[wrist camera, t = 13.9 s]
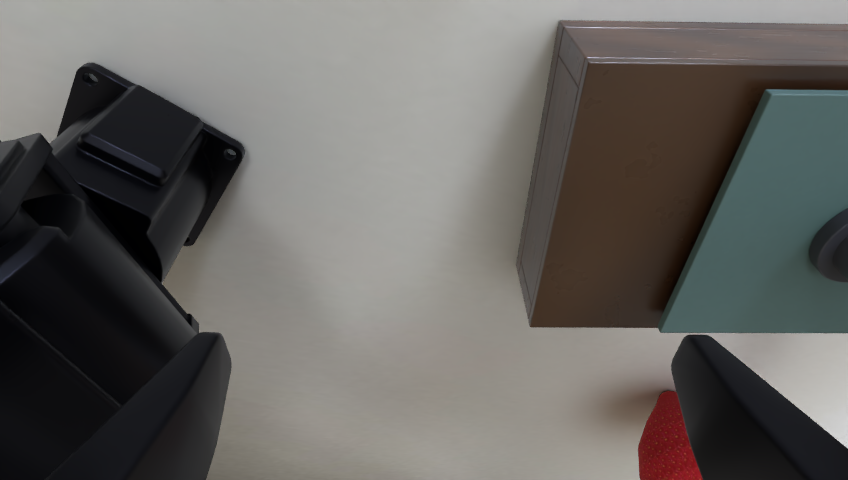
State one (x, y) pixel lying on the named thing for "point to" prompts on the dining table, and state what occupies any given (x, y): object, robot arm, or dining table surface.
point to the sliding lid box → (646, 154)
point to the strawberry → (666, 444)
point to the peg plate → (775, 227)
